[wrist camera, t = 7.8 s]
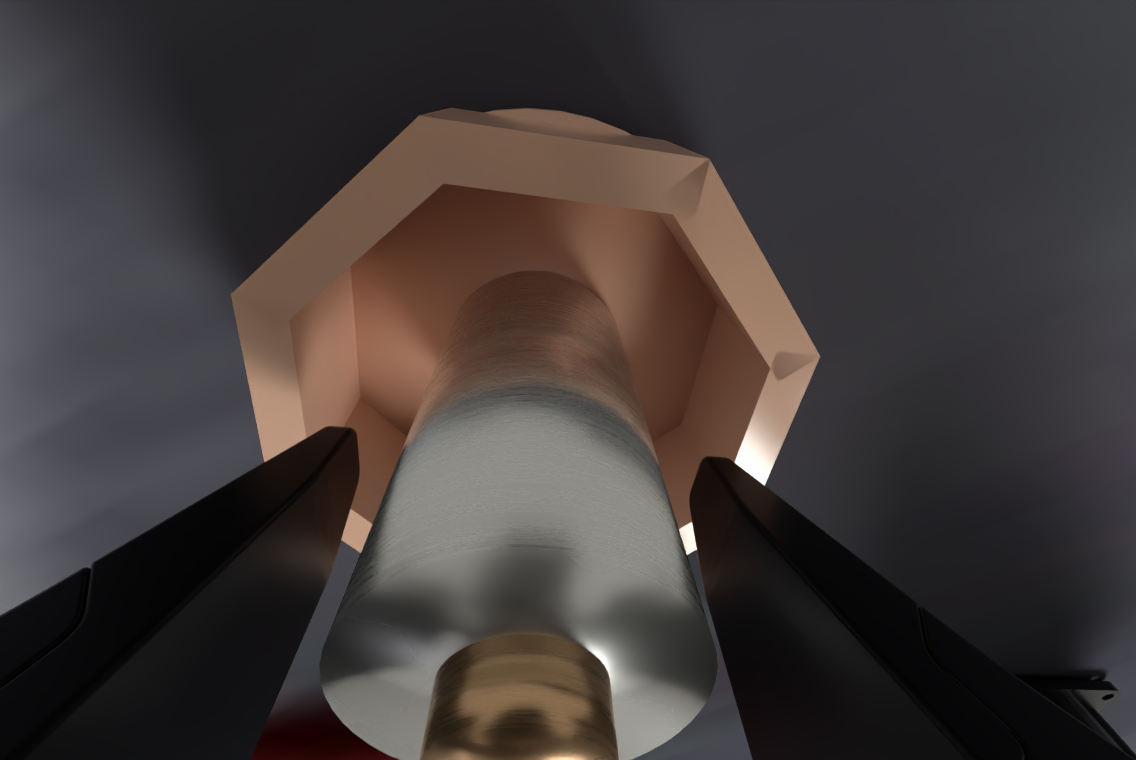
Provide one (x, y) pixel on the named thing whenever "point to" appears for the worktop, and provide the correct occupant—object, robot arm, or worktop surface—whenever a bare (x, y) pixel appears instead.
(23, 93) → the worktop surface
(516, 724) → the battery cell
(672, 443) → the cup
